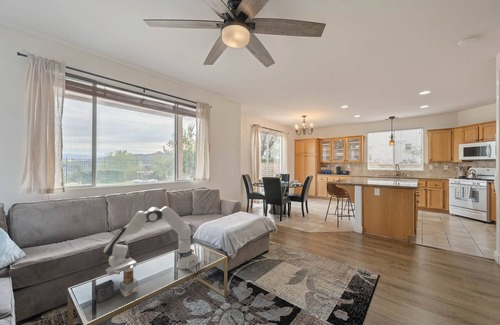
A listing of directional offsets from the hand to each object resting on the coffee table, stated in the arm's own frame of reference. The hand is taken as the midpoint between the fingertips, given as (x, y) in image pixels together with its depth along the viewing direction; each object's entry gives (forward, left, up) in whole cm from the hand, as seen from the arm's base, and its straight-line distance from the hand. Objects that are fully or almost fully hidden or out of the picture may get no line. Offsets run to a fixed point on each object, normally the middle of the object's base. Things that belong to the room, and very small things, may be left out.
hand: (125, 270), depth 161 cm
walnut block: (0, +5, -6) cm, 8 cm away
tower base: (0, +5, -14) cm, 15 cm away
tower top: (0, +5, -10) cm, 12 cm away
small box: (+14, 0, -14) cm, 20 cm away
